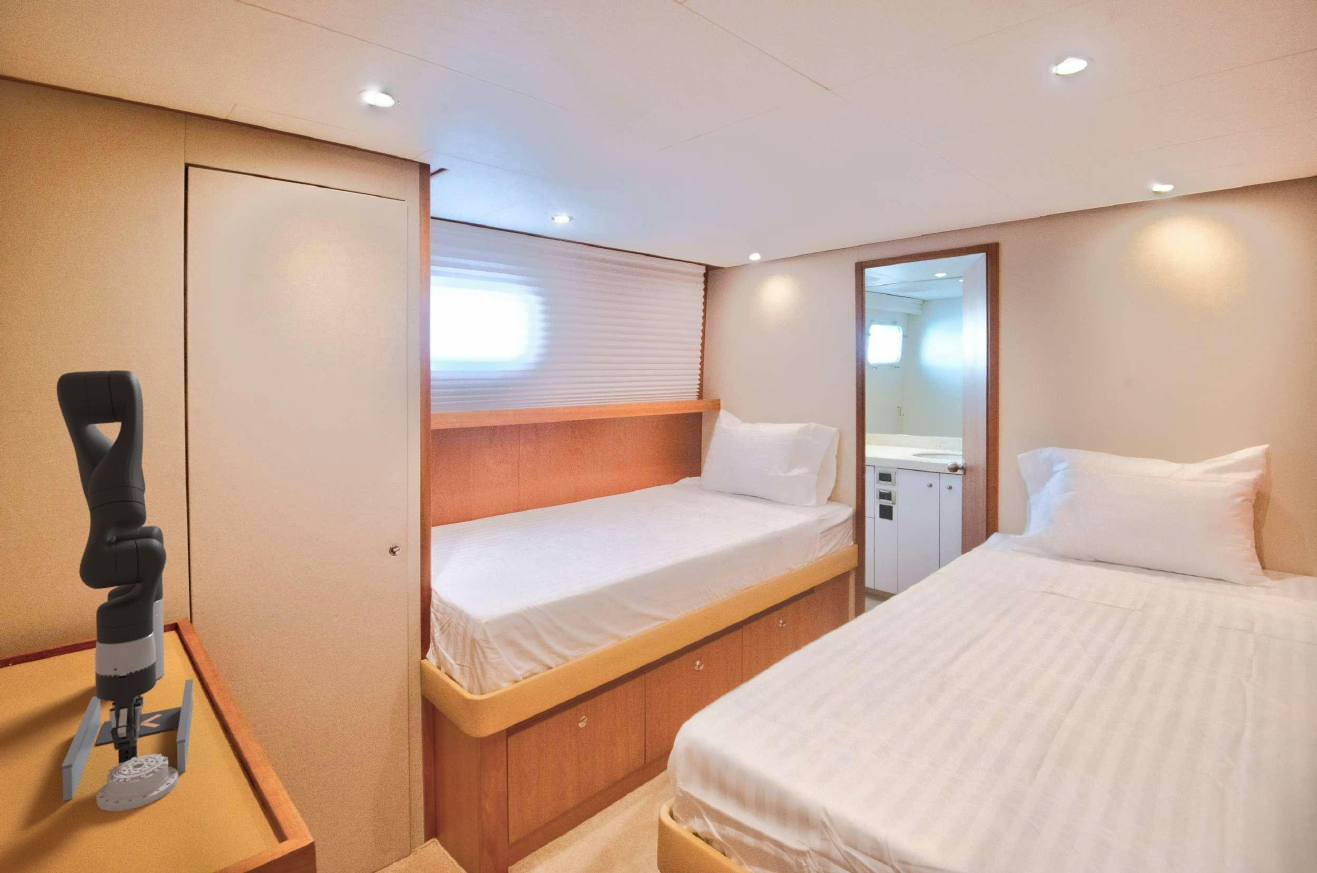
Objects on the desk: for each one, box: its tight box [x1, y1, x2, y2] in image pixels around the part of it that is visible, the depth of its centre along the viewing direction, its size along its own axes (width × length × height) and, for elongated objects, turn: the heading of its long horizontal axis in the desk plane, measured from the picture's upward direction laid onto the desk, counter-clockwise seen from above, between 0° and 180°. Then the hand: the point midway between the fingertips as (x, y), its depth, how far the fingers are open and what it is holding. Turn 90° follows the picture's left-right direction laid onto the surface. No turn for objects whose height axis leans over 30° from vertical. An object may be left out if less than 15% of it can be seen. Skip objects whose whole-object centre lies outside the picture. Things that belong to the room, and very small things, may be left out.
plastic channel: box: [61, 678, 194, 802], centre depth 112 cm, size 26×15×6 cm, turn 34°
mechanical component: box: [96, 753, 179, 812], centre depth 101 cm, size 10×4×10 cm
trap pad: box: [95, 706, 182, 747], centre depth 120 cm, size 9×12×1 cm
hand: (128, 765), depth 104 cm, fingers closed
